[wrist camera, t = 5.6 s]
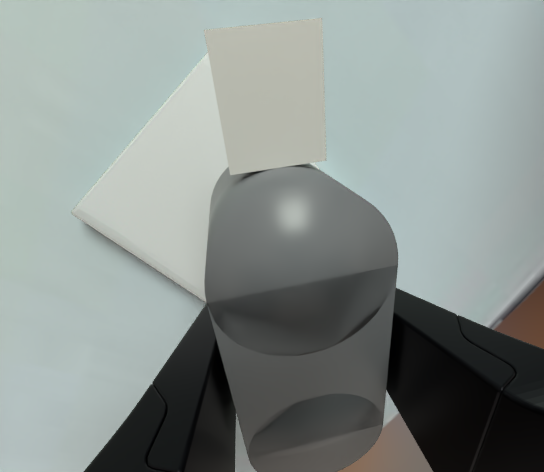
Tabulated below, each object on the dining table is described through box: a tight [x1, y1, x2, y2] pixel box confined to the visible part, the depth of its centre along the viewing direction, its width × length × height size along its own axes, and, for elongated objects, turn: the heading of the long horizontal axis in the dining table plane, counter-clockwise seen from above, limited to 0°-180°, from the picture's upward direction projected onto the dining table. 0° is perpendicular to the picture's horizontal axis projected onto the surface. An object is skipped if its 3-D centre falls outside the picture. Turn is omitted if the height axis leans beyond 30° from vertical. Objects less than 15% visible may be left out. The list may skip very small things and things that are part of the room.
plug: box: [204, 18, 398, 472], centre depth 8 cm, size 14×4×4 cm, turn 7°
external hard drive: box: [71, 52, 320, 303], centre depth 13 cm, size 2×8×12 cm
